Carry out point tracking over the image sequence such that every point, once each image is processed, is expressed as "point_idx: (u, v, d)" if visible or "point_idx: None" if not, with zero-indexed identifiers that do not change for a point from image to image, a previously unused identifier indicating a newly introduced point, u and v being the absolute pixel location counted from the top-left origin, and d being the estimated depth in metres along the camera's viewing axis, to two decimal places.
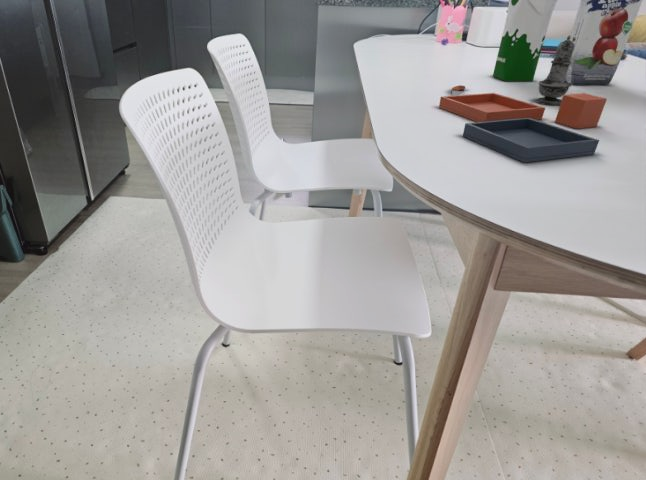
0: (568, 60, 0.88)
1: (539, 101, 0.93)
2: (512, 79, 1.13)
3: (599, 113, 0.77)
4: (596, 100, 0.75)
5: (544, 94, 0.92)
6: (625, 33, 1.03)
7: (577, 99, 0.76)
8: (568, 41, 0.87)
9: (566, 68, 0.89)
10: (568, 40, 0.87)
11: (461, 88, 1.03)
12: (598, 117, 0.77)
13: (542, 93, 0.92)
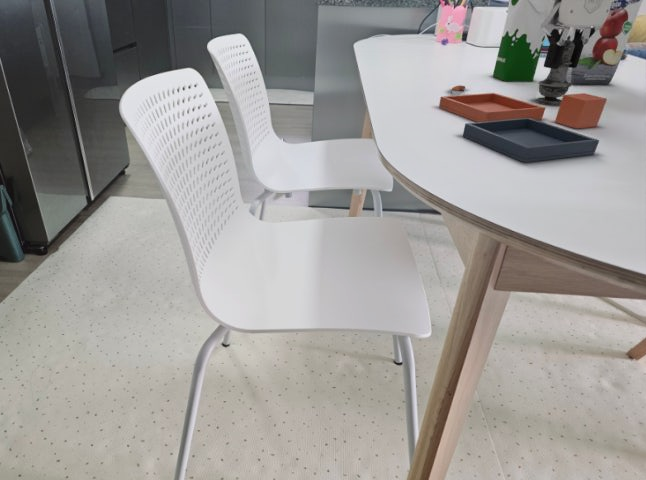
0: (568, 60, 0.88)
1: (539, 101, 0.93)
2: (512, 79, 1.13)
3: (599, 113, 0.77)
4: (596, 100, 0.75)
5: (544, 94, 0.92)
6: (625, 33, 1.03)
7: (577, 99, 0.76)
8: (568, 41, 0.87)
9: (566, 68, 0.89)
10: (568, 40, 0.87)
11: (461, 88, 1.03)
12: (598, 117, 0.77)
13: (542, 93, 0.92)
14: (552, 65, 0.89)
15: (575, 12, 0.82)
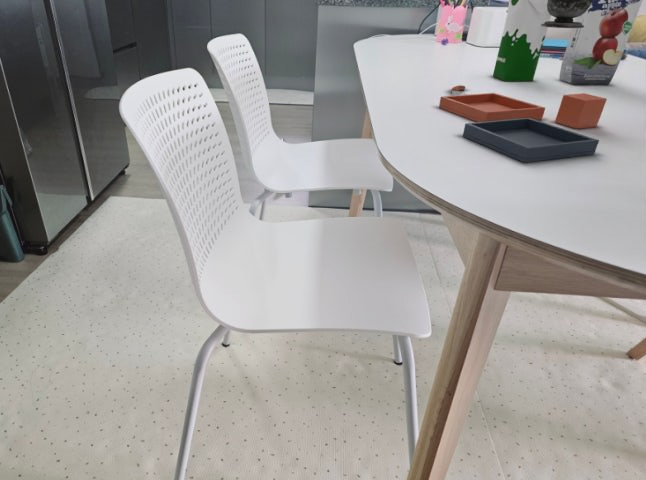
0: None
1: (548, 24, 0.63)
2: (512, 79, 1.13)
3: (599, 113, 0.77)
4: (596, 100, 0.75)
5: (555, 12, 0.62)
6: (625, 33, 1.03)
7: (577, 99, 0.76)
8: None
9: None
10: None
11: (461, 88, 1.03)
12: (598, 117, 0.77)
13: (552, 11, 0.63)
14: None
15: None
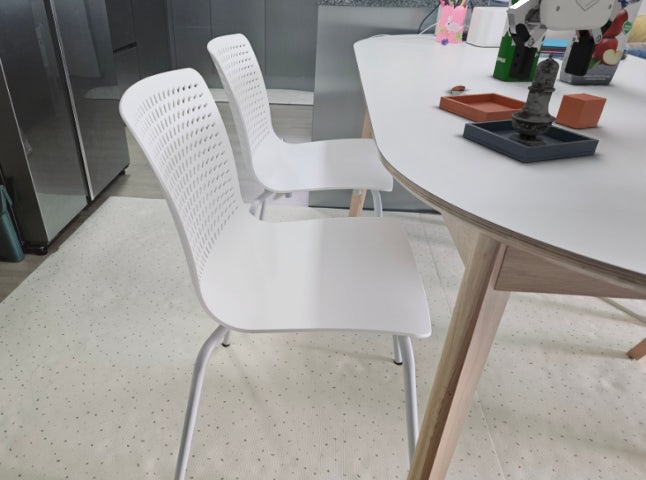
0: (551, 86, 0.64)
1: None
2: (512, 79, 1.13)
3: (599, 113, 0.77)
4: (596, 100, 0.75)
5: (519, 131, 0.67)
6: (625, 33, 1.03)
7: (577, 99, 0.76)
8: (550, 60, 0.63)
9: (548, 97, 0.65)
10: (550, 59, 0.63)
11: (461, 88, 1.03)
12: (598, 117, 0.77)
13: (516, 130, 0.68)
14: (520, 75, 0.62)
15: (563, 9, 0.57)
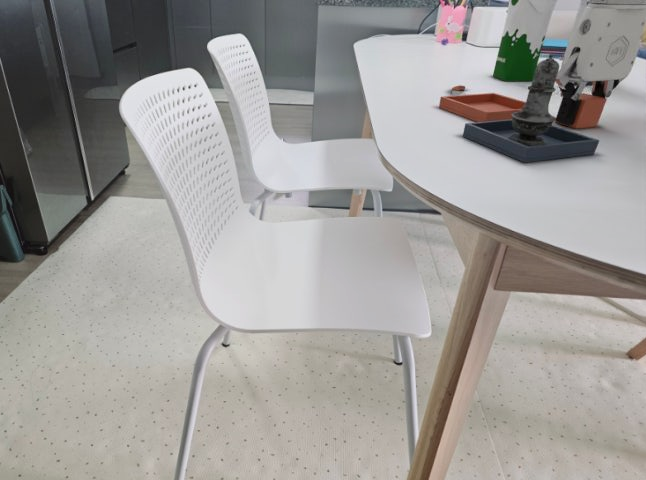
0: (551, 86, 0.64)
1: None
2: (512, 79, 1.13)
3: (599, 113, 0.77)
4: (596, 100, 0.75)
5: (519, 131, 0.67)
6: None
7: None
8: (550, 60, 0.63)
9: (548, 97, 0.65)
10: (550, 59, 0.63)
11: (461, 88, 1.03)
12: (598, 117, 0.77)
13: (516, 130, 0.68)
14: (566, 121, 0.78)
15: (595, 65, 0.71)
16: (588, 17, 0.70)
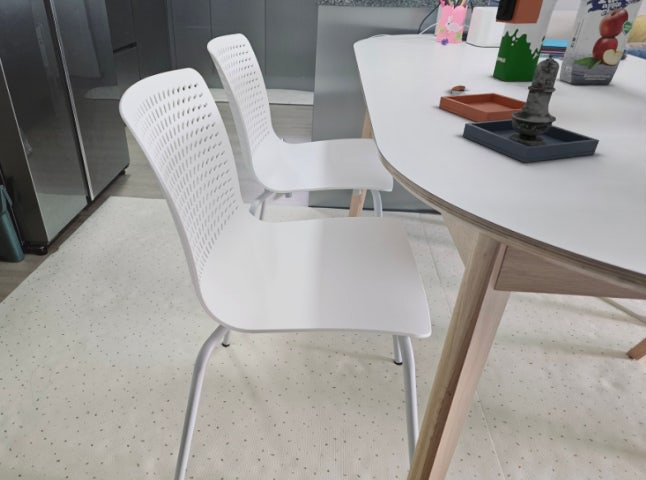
0: (551, 86, 0.64)
1: None
2: (512, 79, 1.13)
3: (538, 8, 0.75)
4: None
5: (519, 131, 0.67)
6: (625, 34, 1.03)
7: None
8: (550, 60, 0.63)
9: (548, 97, 0.65)
10: (550, 59, 0.63)
11: (461, 88, 1.03)
12: (537, 12, 0.75)
13: (516, 130, 0.68)
14: (504, 16, 0.76)
15: None
16: None
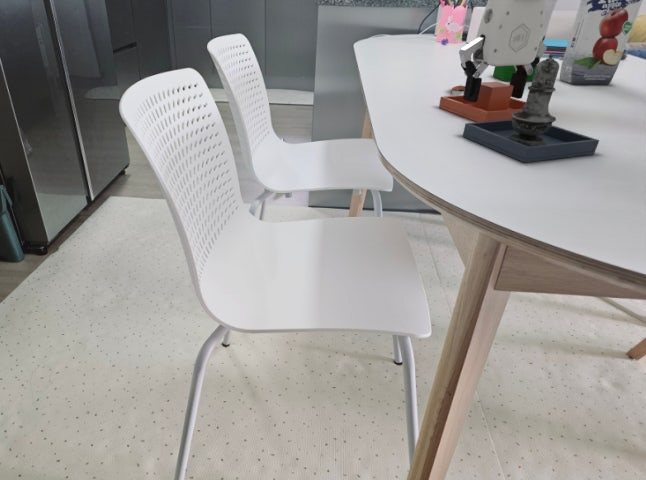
0: (551, 86, 0.64)
1: None
2: None
3: (508, 99, 0.83)
4: (503, 87, 0.81)
5: (519, 131, 0.67)
6: (625, 34, 1.03)
7: (486, 86, 0.82)
8: (550, 60, 0.63)
9: (548, 97, 0.65)
10: (550, 59, 0.63)
11: (461, 88, 1.03)
12: (507, 103, 0.83)
13: (516, 130, 0.68)
14: (470, 98, 0.82)
15: (499, 51, 0.77)
16: (491, 6, 0.75)
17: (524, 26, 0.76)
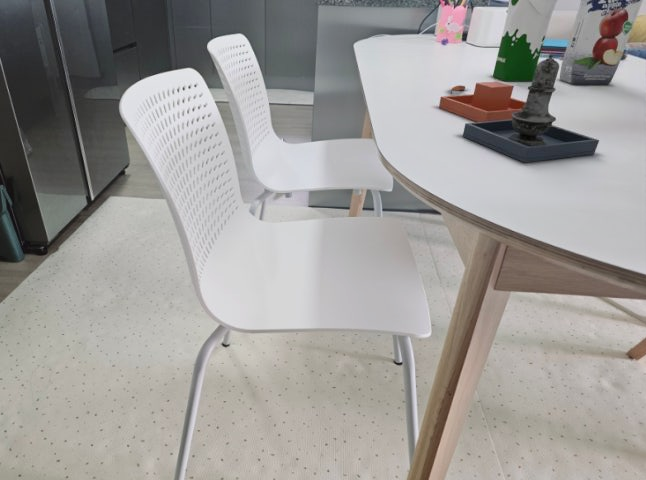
0: (551, 86, 0.64)
1: None
2: (512, 79, 1.13)
3: (508, 99, 0.83)
4: (503, 87, 0.81)
5: (519, 131, 0.67)
6: (625, 34, 1.03)
7: (486, 86, 0.82)
8: (550, 60, 0.63)
9: (548, 97, 0.65)
10: (550, 59, 0.63)
11: (461, 88, 1.03)
12: (507, 103, 0.83)
13: (516, 130, 0.68)
14: None
15: None
16: None
17: None
